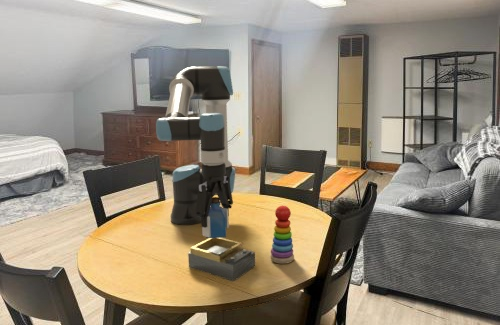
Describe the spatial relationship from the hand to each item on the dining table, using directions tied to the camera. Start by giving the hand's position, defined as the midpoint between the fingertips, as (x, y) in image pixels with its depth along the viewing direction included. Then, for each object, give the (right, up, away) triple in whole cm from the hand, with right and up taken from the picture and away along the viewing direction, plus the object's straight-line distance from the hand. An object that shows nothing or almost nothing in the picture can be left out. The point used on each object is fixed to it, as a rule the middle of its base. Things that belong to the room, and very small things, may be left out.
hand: (215, 231), depth 136 cm
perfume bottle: (0, -1, 0) cm, 1 cm away
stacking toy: (+22, -11, +6) cm, 25 cm away
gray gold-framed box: (+2, -12, +1) cm, 12 cm away
